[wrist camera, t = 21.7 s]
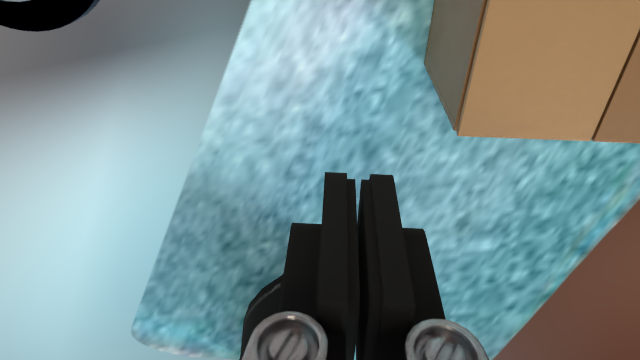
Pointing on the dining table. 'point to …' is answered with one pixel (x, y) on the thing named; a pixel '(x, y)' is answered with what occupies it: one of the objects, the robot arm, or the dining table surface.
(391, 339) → the robot arm
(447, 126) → the dining table surface
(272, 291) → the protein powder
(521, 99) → the flap
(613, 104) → the waste box
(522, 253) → the dining table surface
